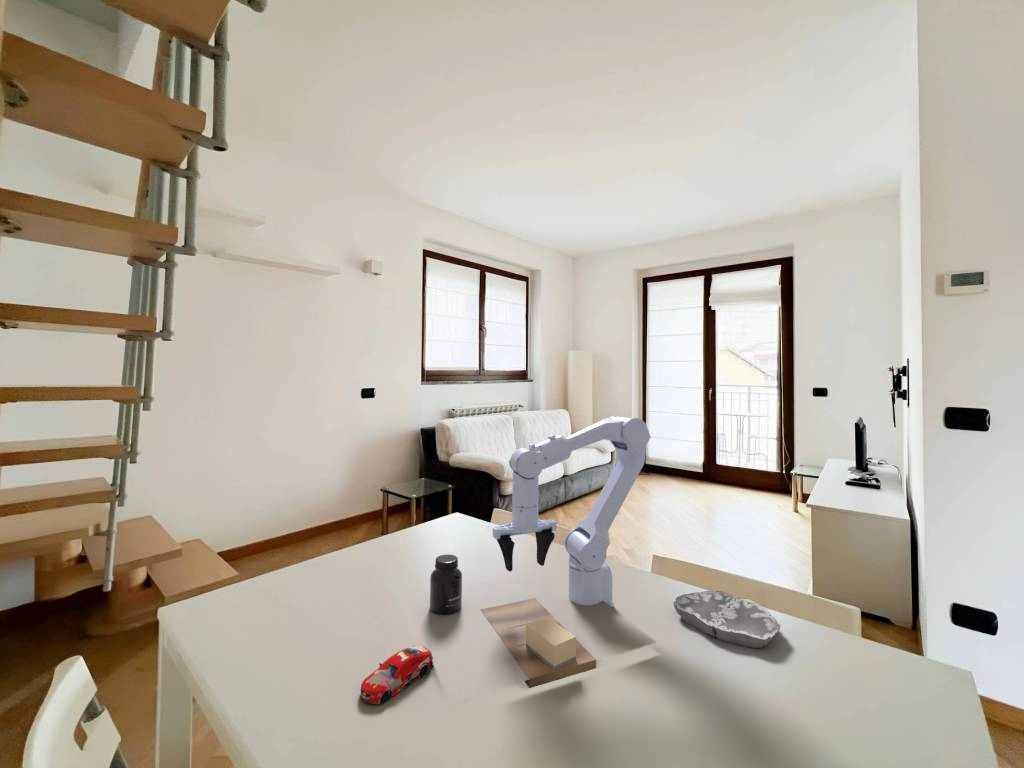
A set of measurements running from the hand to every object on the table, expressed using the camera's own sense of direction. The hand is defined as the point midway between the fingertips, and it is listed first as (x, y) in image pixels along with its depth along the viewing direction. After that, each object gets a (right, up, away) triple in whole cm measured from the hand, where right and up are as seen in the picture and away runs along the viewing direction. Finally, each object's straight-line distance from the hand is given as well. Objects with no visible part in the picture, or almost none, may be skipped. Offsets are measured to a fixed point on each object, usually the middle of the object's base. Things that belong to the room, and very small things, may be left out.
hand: (524, 566), depth 96 cm
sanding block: (+4, -9, -17) cm, 19 cm away
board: (+1, -10, -10) cm, 14 cm away
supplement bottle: (-17, -10, -1) cm, 20 cm away
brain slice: (+42, -11, -4) cm, 44 cm away
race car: (-22, -10, -22) cm, 33 cm away
